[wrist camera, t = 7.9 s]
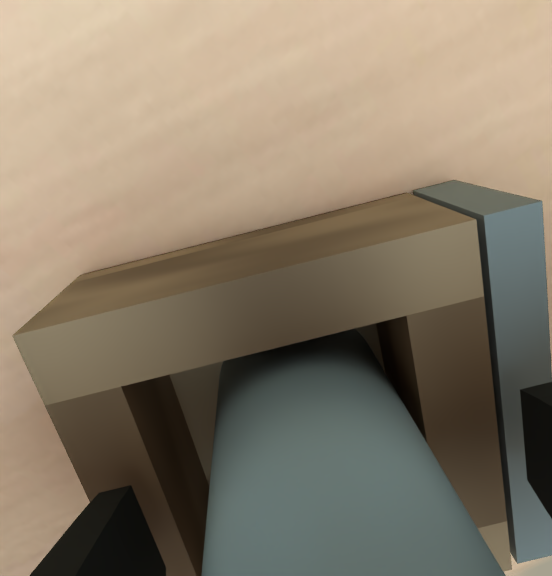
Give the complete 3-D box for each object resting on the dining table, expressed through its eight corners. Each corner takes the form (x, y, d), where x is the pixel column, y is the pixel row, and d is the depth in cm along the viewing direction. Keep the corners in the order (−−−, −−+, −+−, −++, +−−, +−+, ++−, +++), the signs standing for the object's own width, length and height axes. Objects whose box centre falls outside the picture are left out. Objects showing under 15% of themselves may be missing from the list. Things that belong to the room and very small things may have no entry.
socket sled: (180, 528, 14) (160, 653, 11) (79, 275, 11) (12, 335, 8) (447, 463, 14) (512, 569, 10) (407, 192, 11) (476, 219, 8)
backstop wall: (451, 459, 14) (517, 563, 11) (413, 190, 11) (483, 215, 8) (485, 451, 14) (561, 553, 11) (454, 179, 11) (542, 200, 8)
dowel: (242, 466, 13) (244, 1172, 4) (199, 332, 11) (67, 953, 3) (389, 429, 13) (701, 1065, 4) (362, 291, 11) (738, 795, 3)
